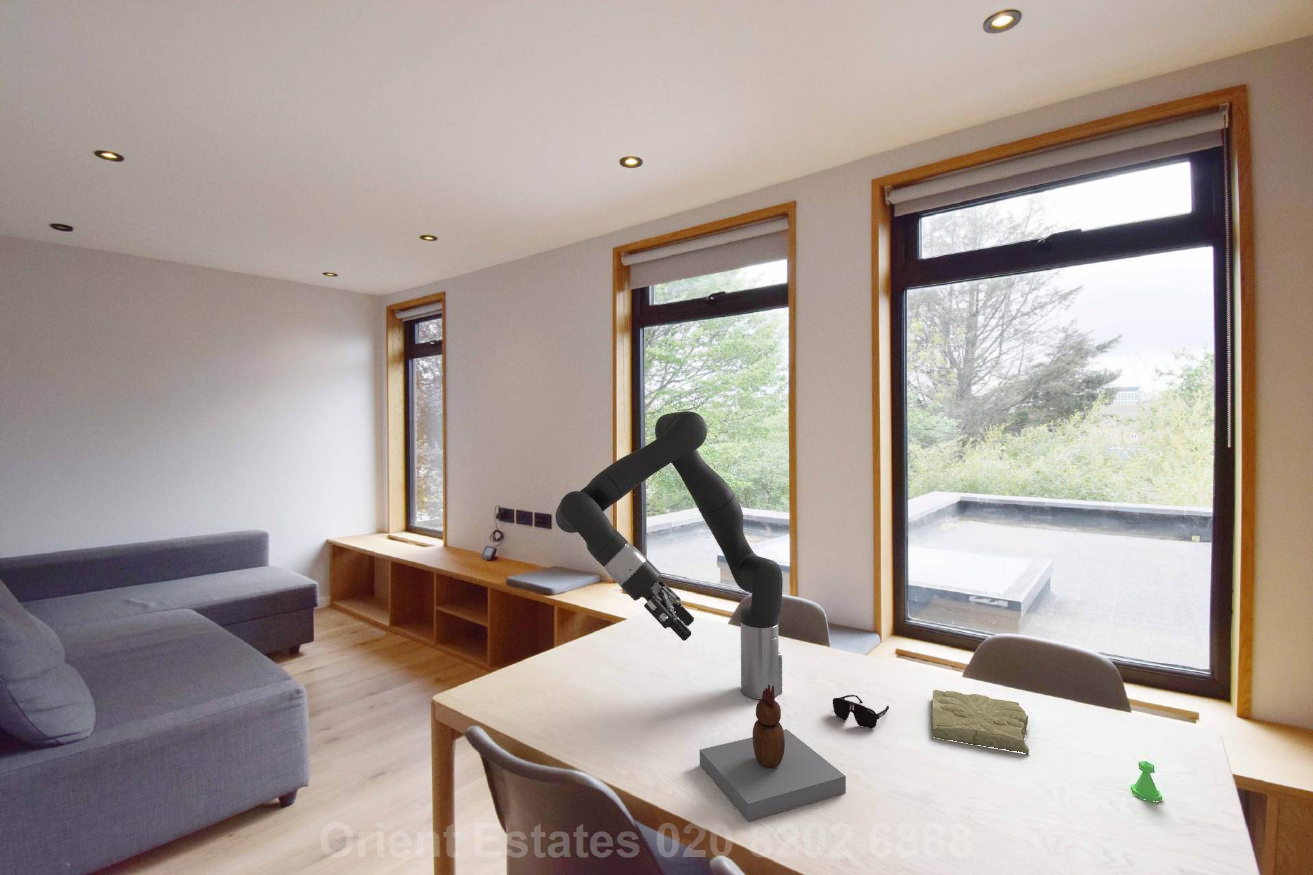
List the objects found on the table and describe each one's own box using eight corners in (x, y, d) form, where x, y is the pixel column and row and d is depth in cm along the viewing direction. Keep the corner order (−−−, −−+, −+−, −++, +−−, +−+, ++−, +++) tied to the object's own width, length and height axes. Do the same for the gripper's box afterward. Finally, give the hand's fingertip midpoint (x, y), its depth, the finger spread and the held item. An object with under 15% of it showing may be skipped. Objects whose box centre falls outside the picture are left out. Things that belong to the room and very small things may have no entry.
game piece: (1124, 786, 106) (1124, 753, 106) (1150, 788, 105) (1150, 754, 105) (1142, 801, 102) (1142, 767, 102) (1168, 803, 101) (1168, 768, 101)
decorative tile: (932, 740, 123) (932, 723, 123) (932, 700, 141) (932, 685, 141) (1037, 760, 115) (1037, 742, 115) (1023, 715, 134) (1023, 699, 134)
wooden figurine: (787, 772, 106) (786, 689, 106) (755, 772, 106) (754, 689, 106) (781, 752, 113) (780, 674, 113) (750, 751, 113) (750, 673, 113)
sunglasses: (828, 717, 133) (829, 694, 133) (852, 706, 141) (853, 685, 142) (873, 733, 125) (875, 709, 126) (896, 721, 134) (897, 698, 134)
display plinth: (786, 743, 122) (786, 728, 121) (845, 792, 105) (845, 775, 105) (699, 764, 114) (699, 749, 114) (748, 821, 97) (748, 803, 97)
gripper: (639, 565, 110) (701, 628, 109) (649, 550, 125) (704, 606, 123) (612, 593, 111) (673, 656, 110) (625, 575, 125) (679, 630, 124)
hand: (689, 629), depth 117 cm, fingers open, 8 cm apart
